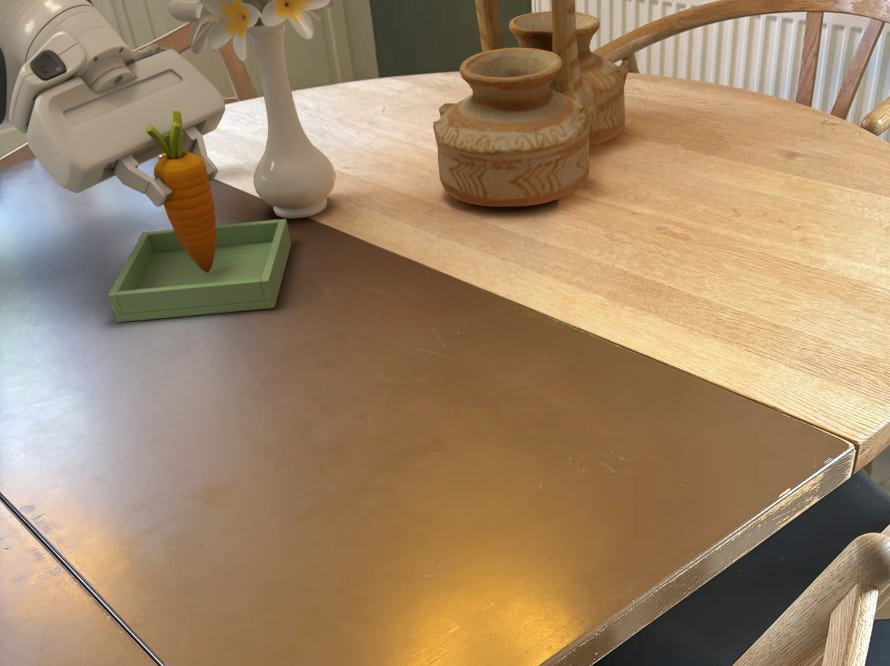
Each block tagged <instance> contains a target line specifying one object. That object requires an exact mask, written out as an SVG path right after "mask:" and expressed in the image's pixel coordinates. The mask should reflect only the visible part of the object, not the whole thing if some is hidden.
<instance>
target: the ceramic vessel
mask: <svg viewBox="0 0 890 666" xmlns="http://www.w3.org/2000/svg"><path fill="white" fill-rule="evenodd" d="M550 2H551V10H549V11H548V10H547V11H546V10H545V11H536V12H535V11H534V12H530V13H529V12H528V13H525V14H521V15H518V16H516V17H514V18H512V19H511V20H509V25H508V29H509V31H510V32H511V33H512V35H513V36H514V37H515V38H516V40H517V43H518V47H505V42H504V36H503V31H502V23H501V18H500V17H501V16H500V9H499V1H498V0H474V4H475V10H476V11H475V12H476V17H477V24H478V30H479V38H480V43H481V44H480V45H481V52H478V53H475V54H473V55H471V56H470V57H467V58H466V59H465V60H463V62H462V63H461V65H460V66H459V69H458V70H459V74H460V76H461V79H462V80H463V81H465V83H467V85H468V86H469V87H470V89H471V90H472V94H471V95H468V96H467V97H465V98H463V99H461V100H459V101H457V102H456V103H453V102H449V103H443V104H442V105H441V106H439V108H438V112H439V116H440V118H439V119H437V120H435V121H433V123H432V129H433V133H434V138H435V143H436V146H437V165H438V174H439V181H440V183H441V186H442V188H443V189H444V191H445V192H446V193H447V194H449V195H450V196H451V197H452V198H454V199H455V200H458V201H461V202H464V203H467V204H470V205H476V206H485V207H497V208H498V207H528V206H536V205H541V204H546V203H549V202H553V201H557V200H560V199H563V198H566V197H567V196H568V195H570V194H572V193H574V192H576V191H577V190H578V189H580V188H581V187H582V186H583V185H585V183H586V182H587V179H588V177H589V174H590V148H591V147H594V146H597V145H598V146H599V145H600V144H603V143H605V142H608V141H610V140H611V139H613V138H615V137H617V136H618V135H619V134H620V133H621V132H622V131H623V129H624V127H625V125H626V124H625V123H626V105H625V86H626V81H627V77H628V74H629V70H630V62H629V60H623V61H622V62H621V63H620V64H619V65H617V64H616V63H615V62H614V61H611V60H610V59H607V58H605V57H603V56H601V55H600V54H599V55H598V54H596V53H595V52H592V50H591V46H590V45H591V43H592V42H591V41H592V39H593V37H594V35H595V34H596V33H598V31H599V29H600V27H601V21H600V18H597V17H595V16H593V15H591V14H587V13H585V12H584V13H583V12H579V11H576V0H551V1H550Z"/></svg>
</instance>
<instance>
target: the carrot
mask: <svg viewBox="0 0 890 666" xmlns="http://www.w3.org/2000/svg"><path fill="white" fill-rule="evenodd" d="M146 132H147V133H148V134H149V135H150V136H151V137H152V138H153V139H154V140H155V142H156V143H157V144H158V145H159V146H160V148H161V149H162V150H163V151H164V152H165V154H166V155H165V156H162V155H161V157H159V159H158V161H157V162H156V164H155V166H154V168H153V176H154V179H157V178H160V177H162V178H163V179H164V181H165V182H166V185H168V186H170V188H171V189H172V191H173V196H172V197H171V198H170V199H171V200H170V201H169V202H167V203H165V204H163V207H164V210H165V213H166V216H167V218H168V221H169V223H170V225H171V227H172V230H173V229H174V231H175V233H176V235H177V237H178V239H179V241H180V243H181V245H182V246H183V248H184V249H185V251H186V252H187V253H188V255H189V256H190V258H191V259H192V260H193V261H194V262H195V263H196V264H197V266H198V267H199V268H200V269H201V270H203V271H205V272H206V273H208V272H209V271H210V269H211V268H212V264H213V260H214V255H215V248H216V225H217V224H216V223H217V222H216V211H215V204H214V198H213V194H212V193H213V192H212V189H211V183H210V181H209V179H208V174H207V170H206V166H205V163H204V161H203V159H202V158H201V157H199V156H198V155H196V154H192V153H189V152H186V151H185V152H182V141H183V135H184V133H183V132H182V117H181V113H180V112H179V111H177V110H173V122H172V125H171V131H170V136H169V134H165V135H164V137H165V139H166V142H167V144H168V145H167V144H166V142H165V140H164V139H163V137H162V136H161V134H160V133H159V132H158V130H157V129H155V128H154V127H153V126H151V125H149V126H148V127H146ZM168 146H169V147H168ZM169 148H170V149H169Z"/></svg>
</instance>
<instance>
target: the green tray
mask: <svg viewBox="0 0 890 666" xmlns="http://www.w3.org/2000/svg"><path fill="white" fill-rule="evenodd" d="M291 247H292V239H291V235H290V231H289V225H288V221H287V218H282V219H269V220H258V221H249V222H238V223H237V222H236V223H226V224H216V248H215V255H214V260H213V264H212V268H211V269H210V271H209V272H208V273H206V272H205V271H203V270H201V269H200V268H199V267H198V266H197V264H196V263H195V262H194V261H193V260H192V259H191V258H190V256H189V255H188V253H187V252H186V251H185V249H184V248H183V246H182V245H181V243H180V241H179V239H178V237H177V235H176V233H175V231H174V229H173V228H172V229H164V230H163V229H162V230H153V231H152V230H151V231H144V232H143V231H142V233H141V235H140V236H139V238H138V240H137V242H136V244H135V245H134V248H133V249H132V251H131V253H130V254H129V257H128V259H126V262H125V264H124V266H123V268H122V269H121V271H120V273H119V274H118V277H117V278H116V280H115V282H114V284H113V286H112V288H111V290H110V291H109V293H108V299H109V302H110V305H111V308H112V310H113V314H114V315H115V319H116V322H117V323H124V322H125V323H126V322H136V321H137V322H138V321H146V320H157V319H168V318H169V319H170V318H178V317H179V318H180V317H190V316H201V315H202V316H203V315H214V314H224V313H235V312H244V311H257V310H267V309H275V307H276V304H277V300H278V296H279V293H280V289H281V286H282V281H283V277H284V275H285V270H286V266H287V262H288V259H289V255H290V251H291Z"/></svg>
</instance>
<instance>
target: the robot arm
mask: <svg viewBox="0 0 890 666" xmlns="http://www.w3.org/2000/svg"><path fill="white" fill-rule="evenodd" d="M173 110H177V111H179V112H180V113H181V117H182V132H183V133H184V135H183V141H182V150H183V151H184V152H185V151H186V152H190V153H192V154H196V155H198V156H199V157H201V158H202V159H203V161H204V163H205V166H206V170H207V174H208V179H209V182H211V181H213V180H214V179H216V177H217V174H218V173H219V170H218V166H217V165H216V164H215V163H214V162H213V160H211V158H210V157H209V156H208V152H207V148H206V144H205V140H204V137H203V136H205V135H207V134H209V133H212V132H214V131H215V130H216V129H217V128H218V126H219V125H220V123H221V120H222V119H223V116H224V114H225V111H226V103H225V98H224V97H223V96H222V94H221V93H220V91H219V90H218V89H217V88H216V87H215V86H214V85H213V84H212V83H211V82H210V81H209V79H207V78H206V77H205V76H204V75H203V73H201V72H200V71H199V70H198V69H197V68H196V67H195V66H194V65H193V64H192V63H191V62H190V61H188V60H187V59H186V58H185V57H183V56H182V55H180V54H179V53H178V52H177V51H176V50H175V49H173V48H168V47H164V46H160V45H159V44H156V43H153V44H149V45H147V46H145V47H144V48H141V49H137V50H132V49H131V48H130V47H129V46H128V44H127V43H126V42H125V41H124V40H123V39H122V37H120V35H119V34H118V33H117V31H116V30H115V29H114V28H113V27H112V26H111V25H110V23H109V22H108V21H107V20H106V19H105V17H103V15H102V14H101V13H100V11H99V10H98V9H97V8H96V7H95V5H94V3H93V2H92V0H0V127H3V126H9V125H12V126H13V127H14V128H15V129H16V130H17V131H18V132H20V133H22V134H25V140H26V143H27V145H28V148H29V149H30V151H31V152H32V154H33V155H34V156H35V158H36V159H37V161H38V162H39V163H40V164H41V166H42V167H43V168H44V170H46V171H47V174H49V175H50V177H51V178H52V179H53V180H54V181H55V182H56V183H57V184H58V185H59V186H60V187H61V188H62V189H65V190H68V191H70V192H73V193H76V194H79V193H82V192H83V191H86V190H88V189H90V188H92V187H94V186H96V185H99V184H101V183H103V182H105V181H107V180H109V179H112V178H115V177H116V179H118V180H119V181H120V182H121V184H122V185H123V186H126V187H128V188H130V189H132V190H134V191H137V192H138V193H141V194H143V195H145V196H146V197H147V198H148V199H149V200H150V202H151V203H152V204H153V205H154V206H155V207H157V208H159V207H161V206H164V204H165V203H167V202H169V201H170V200H171V199H170V198H171V197H172V196H173V191H172V189H171V188H170V186H168V185H166V182H165V181H164V179H163V178H162V177H160V178H157V179H155V177H152V176H151V175H149V174H148V173H146V172H144V171H143V170H140V169H139V166H140V165H142V164H144V163H146V162H149V161H150V160H153V159H155V158H157V157H159V156H162V154H164V153H165V152H164V151H163V150H162V149H161V148H160V146H159V145H158V144H157V143H156V142H155V140H154V139H153V138H152V137H151V136H150V135H149V134H148V133H147V132H146V127H148V126H149V125H151V126H153V127H154V128H155V129H157V130H158V132H159V133H160V134H161V136H162V137H163V139H164V140H165V142H166V139H165V137H164V135H165V134H169V136H170V131H171V125H172V122H173ZM166 144H167V142H166ZM167 145H168V144H167ZM168 147H169V146H168ZM169 149H170V148H169Z"/></svg>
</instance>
